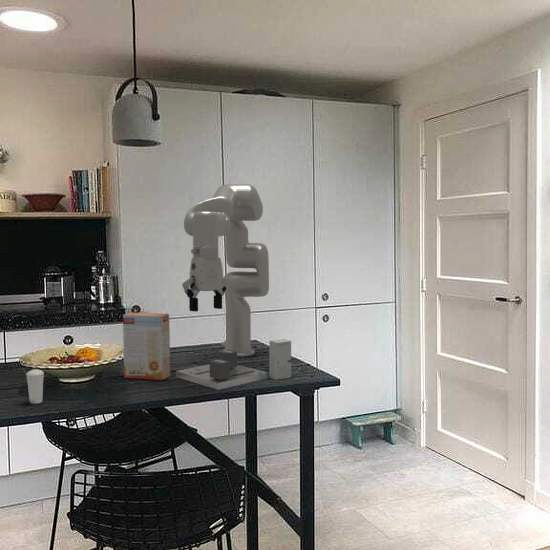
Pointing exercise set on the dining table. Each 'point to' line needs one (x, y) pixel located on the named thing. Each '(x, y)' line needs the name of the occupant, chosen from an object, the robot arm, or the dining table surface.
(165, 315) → the cracker box
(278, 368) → the skincare box
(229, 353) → the fader
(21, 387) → the dining table surface
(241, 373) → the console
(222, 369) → the fader
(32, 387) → the milkshake
